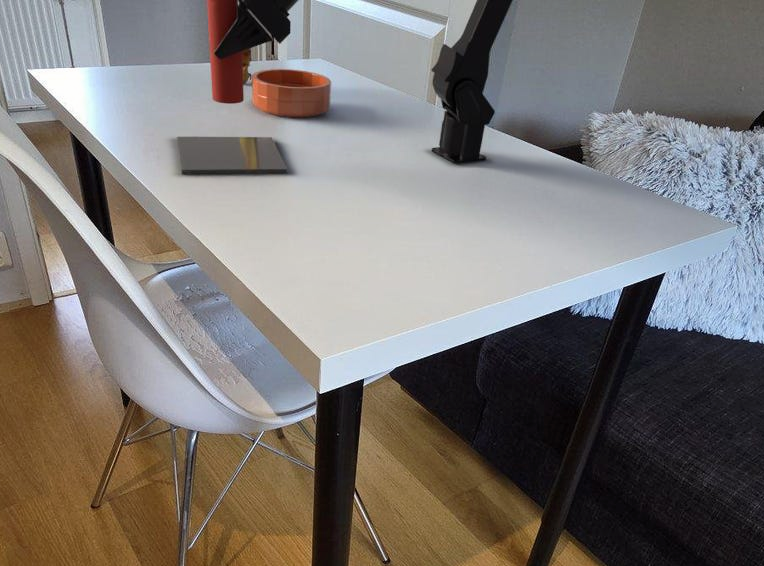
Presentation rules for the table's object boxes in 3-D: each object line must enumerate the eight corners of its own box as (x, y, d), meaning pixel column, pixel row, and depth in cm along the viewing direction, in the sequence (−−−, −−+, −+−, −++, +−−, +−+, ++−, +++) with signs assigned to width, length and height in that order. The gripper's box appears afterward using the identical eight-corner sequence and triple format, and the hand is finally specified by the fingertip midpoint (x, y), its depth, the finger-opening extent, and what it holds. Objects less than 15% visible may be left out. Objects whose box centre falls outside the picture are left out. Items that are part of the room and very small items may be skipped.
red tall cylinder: (247, 98, 93) (245, -7, 86) (237, 105, 90) (233, -3, 82) (219, 94, 93) (213, -11, 86) (207, 101, 90) (201, -7, 83)
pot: (343, 116, 117) (345, 86, 114) (272, 121, 111) (272, 90, 108) (307, 95, 126) (308, 67, 123) (240, 99, 120) (239, 70, 117)
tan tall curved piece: (261, 88, 127) (260, -31, 116) (234, 89, 125) (231, -33, 114) (251, 79, 132) (249, -36, 121) (225, 79, 130) (221, -38, 119)
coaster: (271, 140, 102) (271, 137, 102) (287, 173, 91) (287, 169, 91) (177, 140, 98) (176, 136, 98) (181, 174, 87) (181, 169, 87)
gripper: (247, -99, 87) (167, -10, 90) (261, -93, 72) (165, 14, 76) (305, -26, 93) (228, 55, 97) (329, -6, 79) (238, 88, 82)
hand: (215, 52), depth 88 cm, fingers closed on red tall cylinder, 4 cm apart
